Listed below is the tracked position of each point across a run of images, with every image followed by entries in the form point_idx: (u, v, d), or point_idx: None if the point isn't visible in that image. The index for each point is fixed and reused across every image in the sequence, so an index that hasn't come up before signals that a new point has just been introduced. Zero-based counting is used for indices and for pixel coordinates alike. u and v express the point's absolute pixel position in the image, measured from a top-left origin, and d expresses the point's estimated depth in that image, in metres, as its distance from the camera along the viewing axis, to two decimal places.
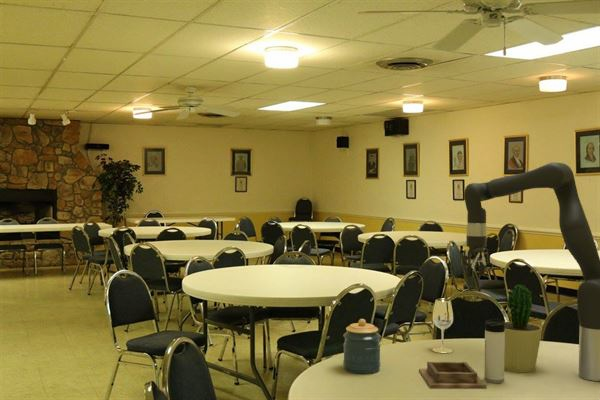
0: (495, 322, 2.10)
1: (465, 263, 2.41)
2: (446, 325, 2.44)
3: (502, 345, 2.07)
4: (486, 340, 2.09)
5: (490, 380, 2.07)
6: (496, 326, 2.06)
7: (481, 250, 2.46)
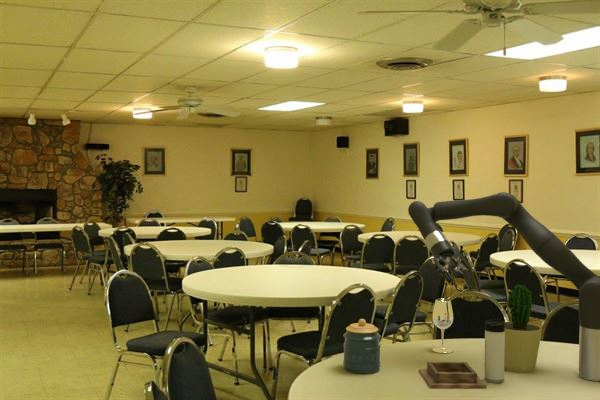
0: (495, 322, 2.10)
1: (437, 270, 2.23)
2: (446, 325, 2.44)
3: (502, 345, 2.07)
4: (486, 340, 2.09)
5: (490, 380, 2.07)
6: (496, 326, 2.06)
7: (452, 256, 2.29)
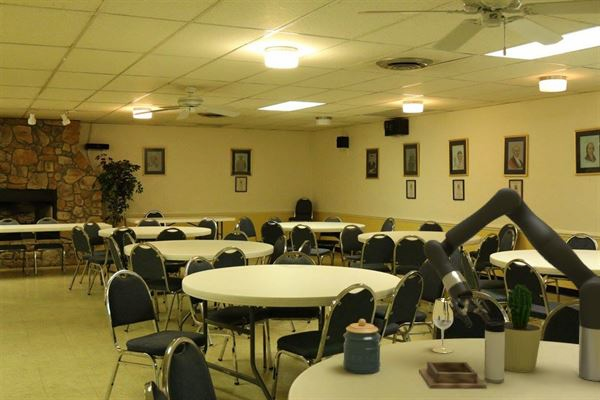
0: (495, 322, 2.10)
1: (456, 314, 2.16)
2: (446, 325, 2.44)
3: (502, 345, 2.07)
4: (486, 340, 2.09)
5: (490, 380, 2.07)
6: (496, 326, 2.06)
7: (471, 298, 2.22)
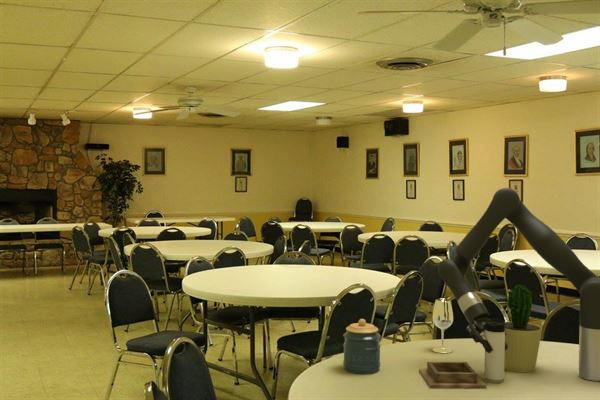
0: (495, 322, 2.10)
1: (475, 338, 2.09)
2: (446, 325, 2.44)
3: (502, 345, 2.07)
4: None
5: (490, 380, 2.07)
6: (496, 326, 2.06)
7: None
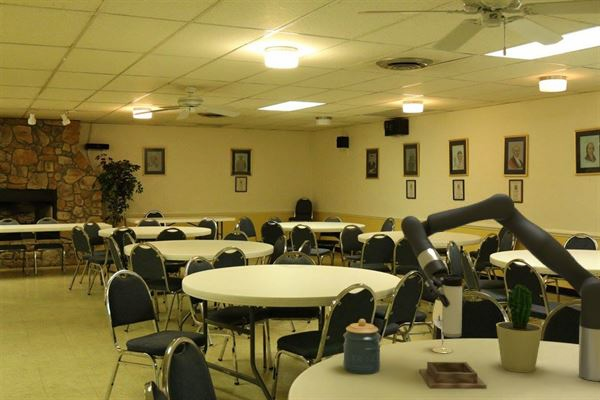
0: (453, 277, 2.10)
1: (433, 293, 2.09)
2: None
3: (459, 299, 2.07)
4: None
5: (447, 334, 2.08)
6: (453, 280, 2.07)
7: None
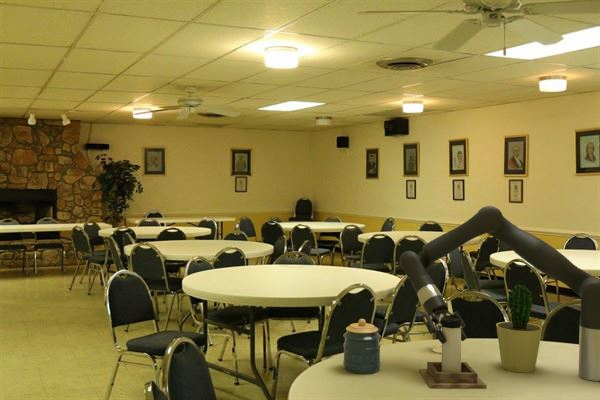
0: (452, 318, 2.11)
1: (430, 329, 2.09)
2: None
3: (458, 341, 2.08)
4: None
5: None
6: (452, 322, 2.07)
7: None
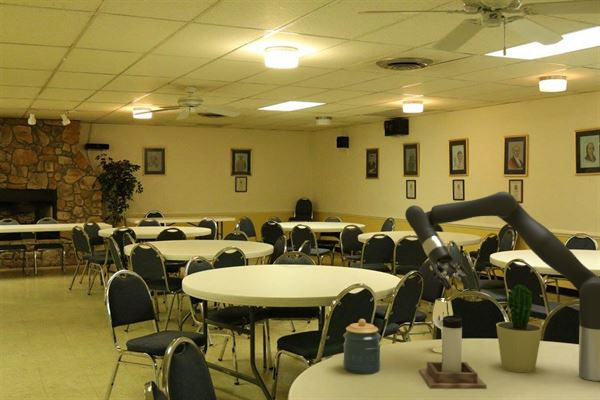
0: (453, 318, 2.11)
1: (435, 277, 2.18)
2: None
3: (459, 341, 2.08)
4: (443, 336, 2.09)
5: None
6: (453, 322, 2.07)
7: (450, 262, 2.24)
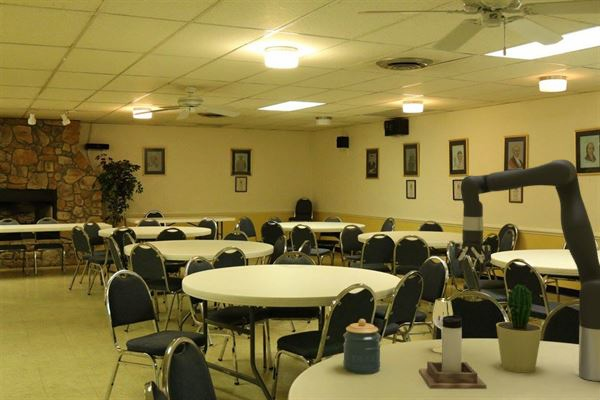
0: (452, 318, 2.11)
1: None
2: None
3: (459, 341, 2.08)
4: (443, 336, 2.09)
5: None
6: (452, 322, 2.07)
7: (475, 245, 2.36)
